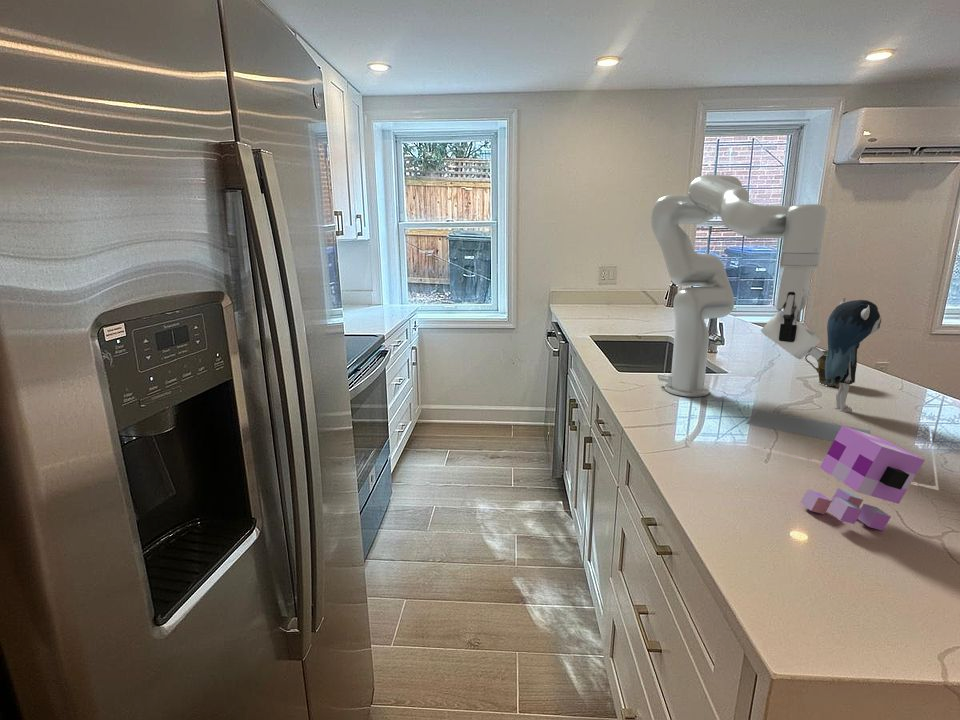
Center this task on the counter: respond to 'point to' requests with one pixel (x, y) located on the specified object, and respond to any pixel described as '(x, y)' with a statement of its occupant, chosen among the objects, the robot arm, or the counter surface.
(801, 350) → the plug
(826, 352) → the ceramic cup
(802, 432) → the mat
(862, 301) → the toy
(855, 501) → the toy
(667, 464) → the counter surface
